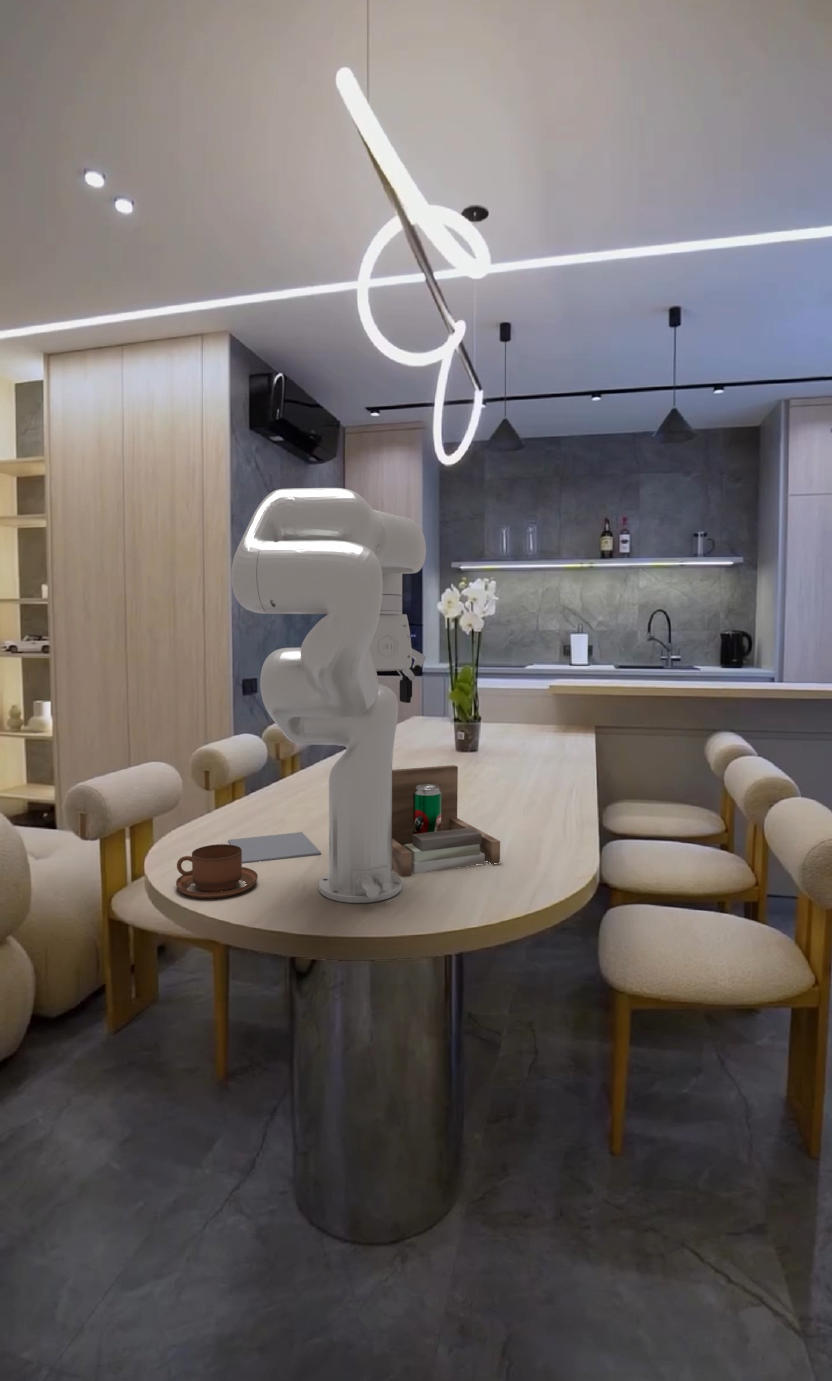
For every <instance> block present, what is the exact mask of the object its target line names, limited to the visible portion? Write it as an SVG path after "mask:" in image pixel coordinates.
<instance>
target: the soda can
mask: <svg viewBox="0 0 832 1381" xmlns="http://www.w3.org/2000/svg"><path fill="white" fill-rule="evenodd" d="M437 831H441V792H440V790H439V786H436V785H418V786H416V787H415V791H414V792H413V834H419V833H428V832H437Z"/></svg>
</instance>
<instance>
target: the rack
mask: <svg viewBox="0 0 832 1381" xmlns="http://www.w3.org/2000/svg"><path fill="white" fill-rule="evenodd" d="M458 769H459V766H457V765H456V764H452V765H450V764H449V765H438V766H427V767H426V766H424V767H414V768H412V767H411V768H399V769H392V871H394V872H396V873H397V874H398V876H400V877H403V878H404V877H411V876H412V873H413V874H420V873H429V872H435V871H436V872H437V871H444V870H445V871H446V870H453V868H454V869H458V868H457V867H462V868H467V867H466V866H470V867H472V866H471V865H476V864H486V863H485V861H488V862H490V863H491V864H494V863H499V862H500V863H501V840H499V839H496V838H495V837H494V836H491V835H489V834H488V833H486V832H484V831H482V830H480V829H478V828H476V827H474V826H473V825H471V824H469V823H468V822H465V821H463V820H461V819H460V818H459V817H458V788H459V786H458V783H459V782H458V781H459V780H458V779H459V778H458V776H459V770H458ZM418 785H436V786H439V790H440V792H441V831H437V832H428V833H419V834H413V792H414V791H415V787H416V786H418Z"/></svg>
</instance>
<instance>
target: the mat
mask: <svg viewBox="0 0 832 1381" xmlns="http://www.w3.org/2000/svg"><path fill="white" fill-rule="evenodd" d="M228 845H235V846H238V847H240V848H241V849H242V864H249V863H260V862H259V861H261V862H269V861H270V862H271V861H277V860H288V859H296V858H297V859H298V858H307V857H315V856H321V855H322V852H321V850H319V849H318V847H316V846H315V844H314V842H312V841H311V840H310V839H309V838H308V837H307V835H305V834H304V832H302V831H297V832H289V833H288V832H287V833H281V834H279V833H278V834H272V835H261V836H253V837H242V838H241V837H240V838H234V839H233V838H232V839H228Z"/></svg>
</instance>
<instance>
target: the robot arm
mask: <svg viewBox="0 0 832 1381" xmlns="http://www.w3.org/2000/svg"><path fill="white" fill-rule="evenodd" d="M426 555H427V546H426V538H425V536H424V533H423V531H422V529H421V527H420V525H419V524H418V522H416V521H415V520H413V519H412V518H408V517H406V516H401V515H395V514H392V513H389V512H385V511H381V510H377V509H373V507H372V506H371V505H370V504H369V503H368V502H367V501H366V500H365V498H364V497H362V496H361V495H360V494H359V493H357V492H356V491H353V490H351V489H347V488H341V487H309V488H307V487H306V488H305V487H303V488H299V487H298V488H295V487H294V488H280V489H276V490H273V491H272V492H270V493H268V494H267V495H266V496H265V497H264V498H263V499H262V501H261V502H260V504H258V506H257V508H256V509H255V510H254V513H253V514H252V517H251V518H250V520H249V523H248V525H247V527H246V529H245V532H244V534H243V536H242V538H241V540H240V542H239V544H238V546H237V549H236V551H235V554H234V557H233V561H232V565H231V572H230V573H231V575H230V576H231V578H230V579H231V587H232V592H233V595H234V597H235V599H236V600H237V602H238V603H239V605H240V606H241V607H242V608H244V609H245V610H247V611H250V612H252V613H255V614H267V615H275V614H276V615H279V614H280V615H283V614H284V615H287V614H290V615H291V614H293V615H297V614H298V615H309V614H310V615H325V616H324V617H323V618H321V619H320V620H318V622H317V623H315V625H314V626H313V627H312V628H311V630H310V631H309V632H308V633H307V635H306V636H305V638H304V640H303V641H302V643H301V646H300V647H283V648H279V649H276V650H274V651H273V652H271V653H270V654H269V655H268V656H267V657H266V658H265V660H264V662H263V664H262V666H261V671H260V678H259V679H260V681H259V685H260V694H261V699H262V703H263V705H264V707H265V710H266V711H267V713H268V715H269V716H270V717H271V719H272V721H273V722H274V723H275V725H276V726H277V728H279V731H281V732H282V733H283V735H284V736H285V737H286V739H287V740H289V741H290V742H292V743H294V744H300V745H312V746H313V745H315V746H316V745H317V746H318V745H322V746H340V747H341V746H343V747H345V748H346V749H345V751H344V753H343V754H342V755H341V756H340V757H339V758H338V760H336V762H335V763H334V764H333V765H332V768H331V770H330V773H329V777H328V867H329V868H328V873H327V874H326V875H324V876H322V878H321V879H320V880H319V882H318V891H319V892H320V895H321V894H322V895H323V897H325V898H327V899H330V900H333V901H335V902H340V903H341V902H342V903H349V904H366V903H374V902H375V903H376V902H381V901H385V900H387V899H390V898H393V897H395V896H396V895H398V894H399V893H400V892H401V890H402V888H403V881H402V878H401V876H400V875H399V874H398V875H397V874H396V873H394V872H393V869H392V770H393V757H394V756H393V755H394V745H395V740H396V739H395V737H396V730H397V724H398V718H399V702H398V698H397V695H396V693H395V692H394V691H393V690H392V689H391V688H390V687H388V686H387V685H385V684H382V683H380V681H379V677H378V673H377V672H392V671H393V672H395V671H396V672H397V673H398V674H399V675H400V677H401V679H400V680H399V701H400V702H402V703H404V704H405V703H407V704H410V703H412V702H411V700H412V697H413V682H414V681H415V679H416V677H417V675H418V674H419V673H420V672H421V670H422V666H423V665H424V663H425V660H426V656H425V654H423V653H421V652H420V651H417V650H416V649H414V648H413V647H412V639H411V638H412V637H411V630H410V625H409V620H408V615H407V614H406V613H405V614H403V574H404V575H405V574H417V573H418V572H420V571H421V570H422V569H423V566H424V564H425V561H426V557H427V556H426ZM412 659H413V660H414V662H412V661H413V660H412Z"/></svg>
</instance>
